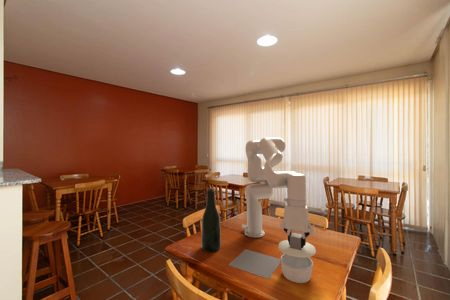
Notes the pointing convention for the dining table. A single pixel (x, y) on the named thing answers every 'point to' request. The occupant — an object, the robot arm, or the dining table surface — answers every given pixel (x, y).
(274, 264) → the mat
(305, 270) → the ramekin
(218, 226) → the green wine bottle
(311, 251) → the lid
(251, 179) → the robot arm
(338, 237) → the dining table surface
